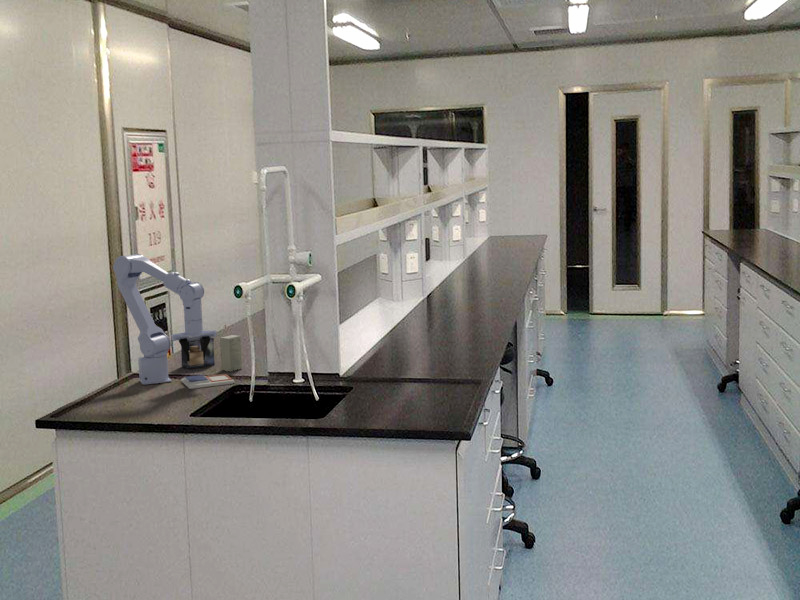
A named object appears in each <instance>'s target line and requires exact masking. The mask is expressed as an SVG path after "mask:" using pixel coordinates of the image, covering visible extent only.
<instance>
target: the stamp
mask: <svg viewBox="0 0 800 600" xmlns="http://www.w3.org/2000/svg"><path fill="white" fill-rule="evenodd" d="M189 357H190V361H187V363H188V365H189V366H190V367H194V366H203V365H204V360H203V351H201V350H200V346H191V347H190V351H189Z"/></svg>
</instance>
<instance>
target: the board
mask: <svg viewBox="0 0 800 600" xmlns="http://www.w3.org/2000/svg"><path fill="white" fill-rule="evenodd" d="M181 383H183V385H185V386H186V387H187V388H188V389H189V390H191V389H193V390H194V389H199V388H200V389H201V388H209V387H215V386H217V387H218V386H225V385H232V384H233V383H234V384H235V383H236V382H235V380H234V379H233V378H232V377H231V376H229V375H228V374H227V373H221V374H213V375H212V374H211V375H203V374H200V375H199V374H198V375H190V376H185V377H183V378H181Z"/></svg>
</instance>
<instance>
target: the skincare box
mask: <svg viewBox="0 0 800 600" xmlns="http://www.w3.org/2000/svg"><path fill="white" fill-rule="evenodd" d="M219 343H220V345H219V346H220V359H221V361H220V362H221V364H220V366H221V371H223V370H225V371H224V372H228V371H230V372H234V371H237V369H238V370H241V369H243V362H242V361H243V360H242V340H241V335H235V334H231V335H230V334H229V335H225V336H221V337H219ZM233 370H234V371H233Z"/></svg>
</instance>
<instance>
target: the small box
mask: <svg viewBox="0 0 800 600" xmlns="http://www.w3.org/2000/svg"><path fill="white" fill-rule="evenodd" d="M209 338H210V342H209V345H208V347H207V350H206V354H205V360H204V365H203V366H194V367H190V366H189V365H188V363H187V361H186V357H185V353H184V351H183V348H182V346H181V345H180V348H181V349H180V351H181V352H180V353H181V354H180V355H181V367H183V368H184V369H187V370H188V369H189V370H193V369H198V368H204V366H206V367H211V365H212V366H215V345H214V344H215V343H214V342H215V341H214V338H215V337H209ZM187 340H188V342H189V351H190V347H191V346H200V350H201V344H200V338H195V339H187Z"/></svg>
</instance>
